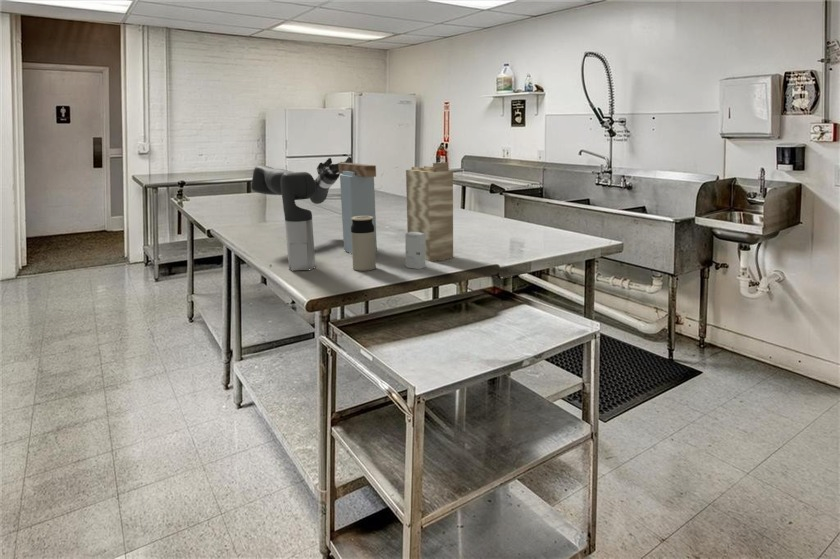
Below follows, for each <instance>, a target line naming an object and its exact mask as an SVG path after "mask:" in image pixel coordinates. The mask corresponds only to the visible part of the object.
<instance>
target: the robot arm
mask: <svg viewBox="0 0 840 559" xmlns="http://www.w3.org/2000/svg"><path fill="white" fill-rule="evenodd" d="M339 163H353V160H352V157H351V156H348V157H347V158H346V160H344V161H340V162H339ZM316 171H317V172H316V173H317V177H316V178H314V177H313V176H312V174H311V173H309V172H306V171H297V172H296V171H295V172H294V171H292V170H287V169H282V168H273V167H271V166H268V165H258V166H255V167H254V169H253V172H252V180H251V184H250V187H251V190H252V191H253V192H255V193H258V194H262V195H270V196H281V199H282V208H283V214H284V224H285V235H286V236H285V237H286V248H287V258H288V259H287V260H288V269H289V268H290V269H291V270H309V269H311V270H313V269H312V268H314V267H315V268H316V267H317V266H316V254H315V252H316V251H315V241H314V240H315V238H314V226H313V213H312V211H311V210H309V209H306V208H302V207H300V206H298V205H297V204H296V201H299V200H301V201H302V200H310V201H311V203H313V204H315V205H319V204H322V203H324V202H325V201H326V199H327V197H328V193H329V189H330V188H331V187H332V186H333V185H335V183H336V181H338V179H340V175H341V174H339V166H338V163H335V164H334V163H333V161H332V158H331V157H328V159H326V160H325V161H324V162H320V163H319V164H318V165H317V167H316ZM315 268H314V269H315ZM290 269H289V270H290ZM291 270H290V271H291ZM309 271H310V270H309Z"/></svg>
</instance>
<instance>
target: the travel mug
mask: <svg viewBox="0 0 840 559" xmlns="http://www.w3.org/2000/svg"><path fill="white" fill-rule="evenodd" d="M351 219H352V222H353V224H352V226H351V240H352V254H351V255H352V256H351V257H352V260H351V261H352V269H353V270H354V271H360V272H368V271H373V270H374V269H376V267H377V265H376V264H377V263H376V261H377V260H376V252H375V234H374V225H373V223H372V219H373V217H372V216H355V217H352V218H351Z"/></svg>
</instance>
